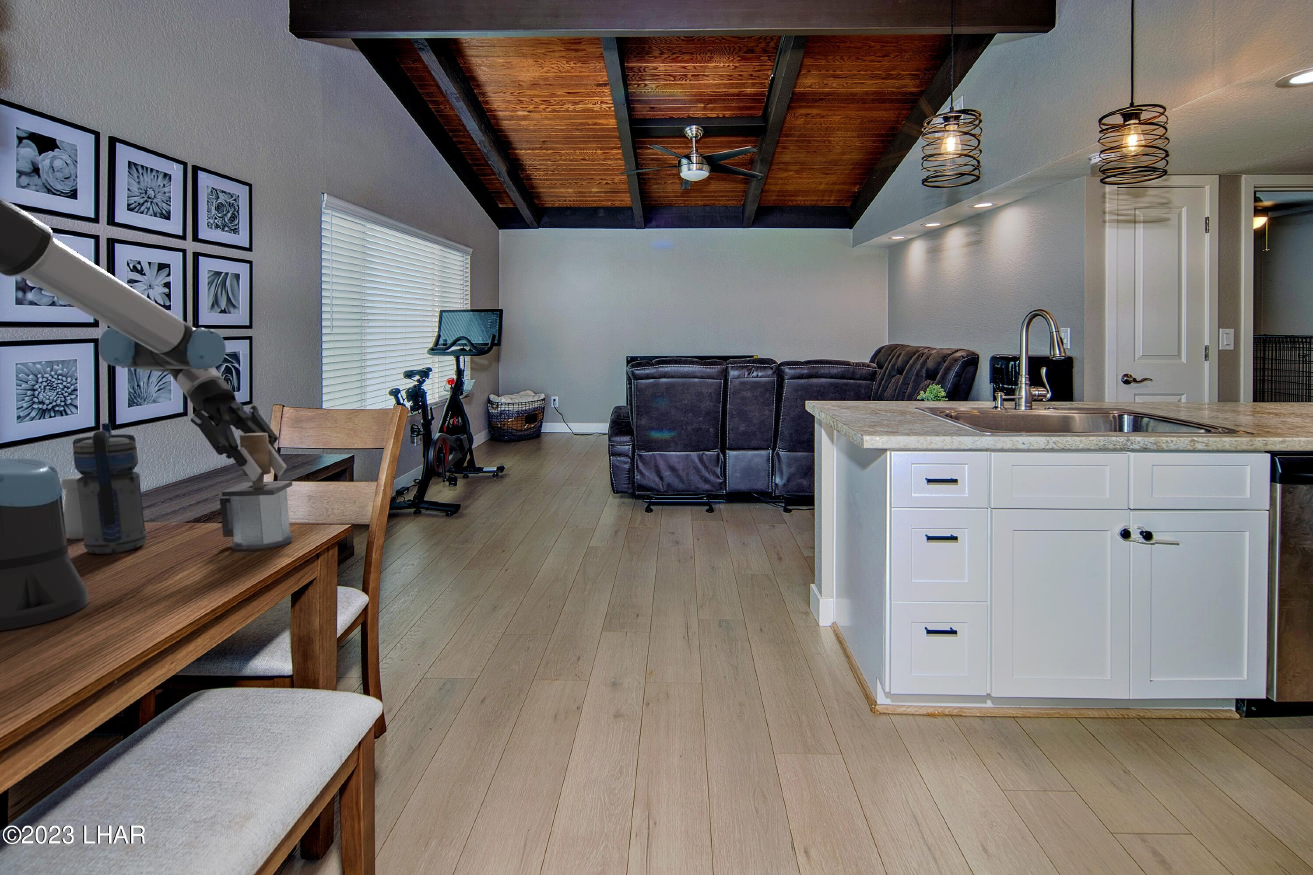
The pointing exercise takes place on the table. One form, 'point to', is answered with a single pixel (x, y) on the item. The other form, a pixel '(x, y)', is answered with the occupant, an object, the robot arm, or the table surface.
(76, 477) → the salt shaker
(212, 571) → the table surface
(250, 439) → the plunger
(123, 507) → the beverage bottle
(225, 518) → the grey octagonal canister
